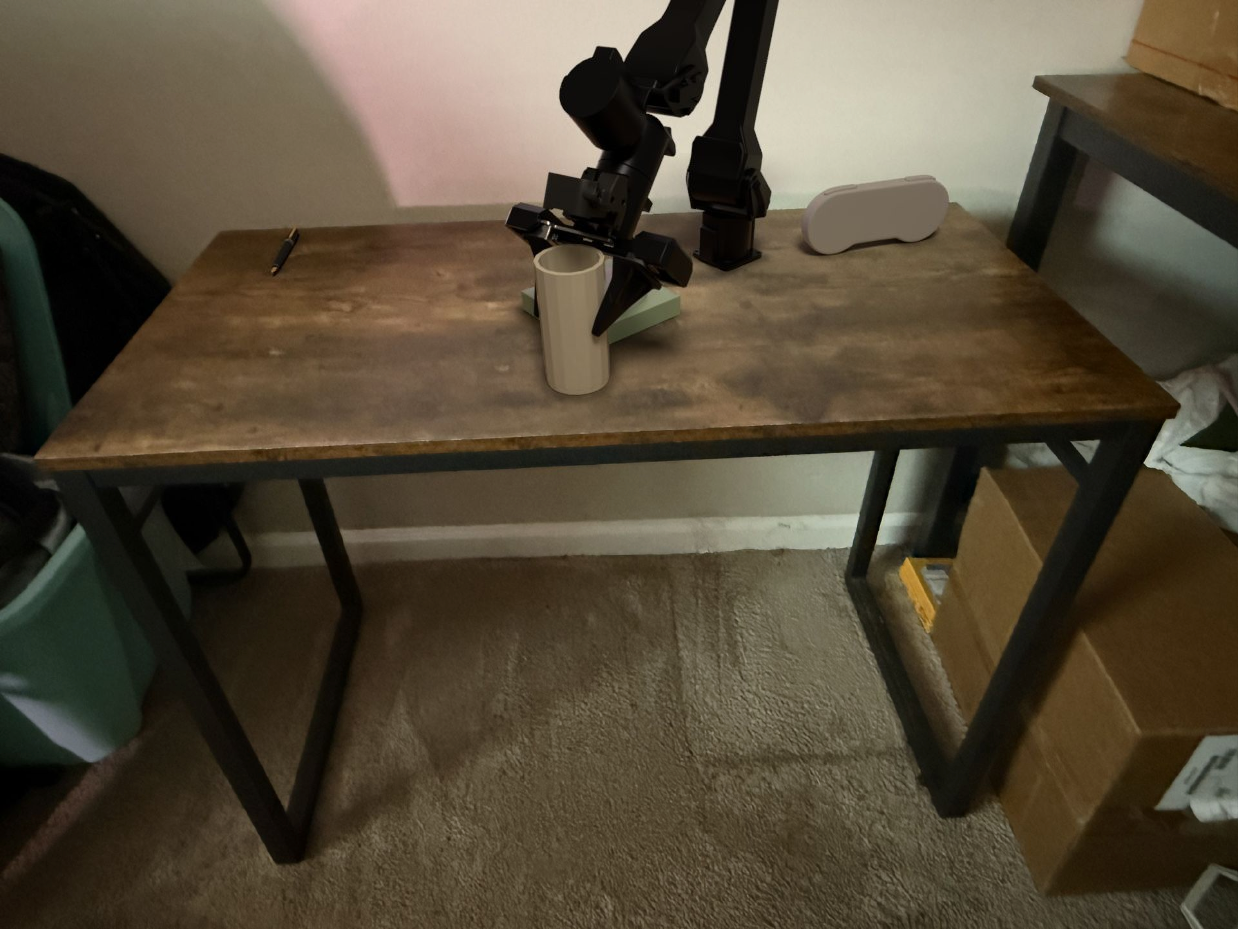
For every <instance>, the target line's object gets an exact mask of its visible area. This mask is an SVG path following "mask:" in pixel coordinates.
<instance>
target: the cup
mask: <svg viewBox="0 0 1238 929" xmlns="http://www.w3.org/2000/svg"><path fill="white" fill-rule="evenodd" d="M605 256H606V255H603V253H602V252H601V251H600V250H598V249H596V248H595V247H592V246H587V245H583V244H565V245H558V246H553V247H551V248H548V249H545V250H543V251H541V252H540V253H539V254H537V255H536V257H535V259H534V258H533V272H534V283H535V282H536V291H537V300H538V310H539V319H540V320H539V328H540V333H541V334H540V335H541V337H540V338H541V345H542V346H541V347H542V354H543V364H544V370H545V371H544V373H545V378H546V383H547V385H548V386H549V387H550V388H551V389H552V390H553V391H556V392H557V393H560V394H563V395H569V396H583V395H587V394H591V393H595V392H598V391H599V390H601V389H603V388H604V387H605V386H606V385H607V384H608V383H609V381H610V378H611V359H610V358H611V356H610V344H609V334H608V329H607V330H606V331H605V332H604V333H603V334H602V335H601V336H600V337H596V336H594V335H592V333H591V331H592V328H593V324H594V321H595V318H596V315H597V313H598V310H599V308H600V305H601V303H602V300H603V298H604V296H605V293H606V272H605V260H606V257H605Z"/></svg>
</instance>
